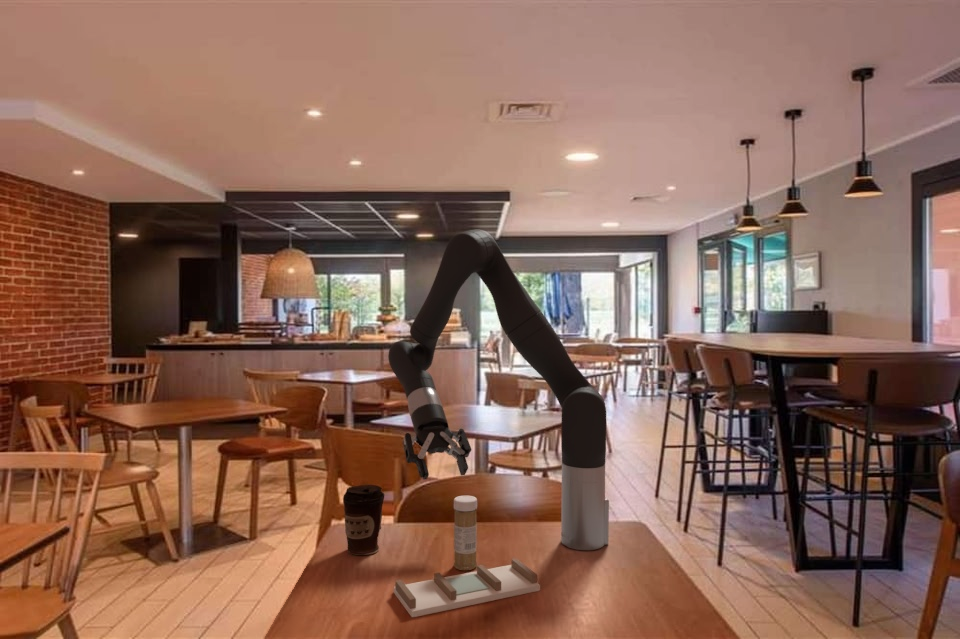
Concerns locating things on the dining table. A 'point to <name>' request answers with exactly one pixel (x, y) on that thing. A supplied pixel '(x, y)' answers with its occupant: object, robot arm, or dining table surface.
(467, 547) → the sprinkles bottle
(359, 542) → the coffee cup
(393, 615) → the dining table surface
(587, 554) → the dining table surface
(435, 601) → the rack
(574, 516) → the robot arm
